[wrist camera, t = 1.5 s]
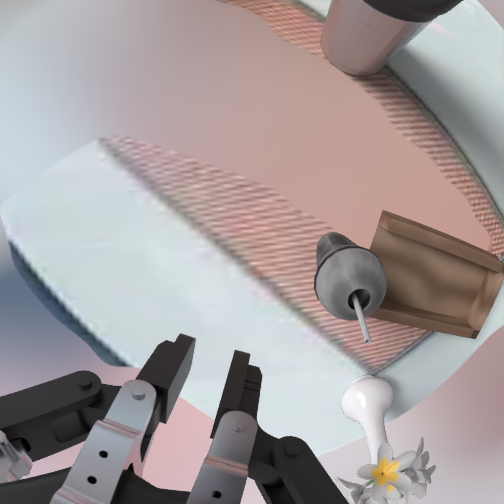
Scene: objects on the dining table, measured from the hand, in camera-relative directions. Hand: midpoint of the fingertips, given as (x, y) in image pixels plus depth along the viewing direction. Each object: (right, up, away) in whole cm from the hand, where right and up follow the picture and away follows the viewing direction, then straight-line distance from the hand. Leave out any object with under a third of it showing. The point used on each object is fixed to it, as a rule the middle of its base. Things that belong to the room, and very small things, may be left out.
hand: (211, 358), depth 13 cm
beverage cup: (+13, +5, +26) cm, 29 cm away
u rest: (+29, +1, +25) cm, 38 cm away
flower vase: (+22, -19, +32) cm, 43 cm away
